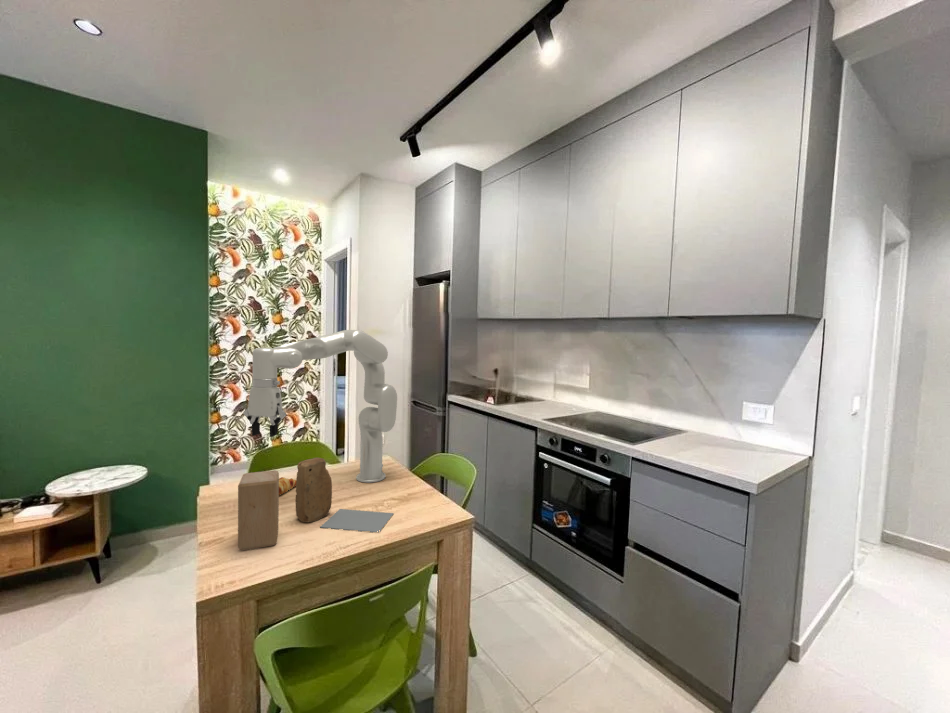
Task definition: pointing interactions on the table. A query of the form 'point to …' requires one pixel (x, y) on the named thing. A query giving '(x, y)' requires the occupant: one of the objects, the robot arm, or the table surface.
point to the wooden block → (258, 509)
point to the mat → (357, 520)
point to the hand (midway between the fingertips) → (264, 434)
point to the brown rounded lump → (313, 490)
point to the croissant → (286, 484)
